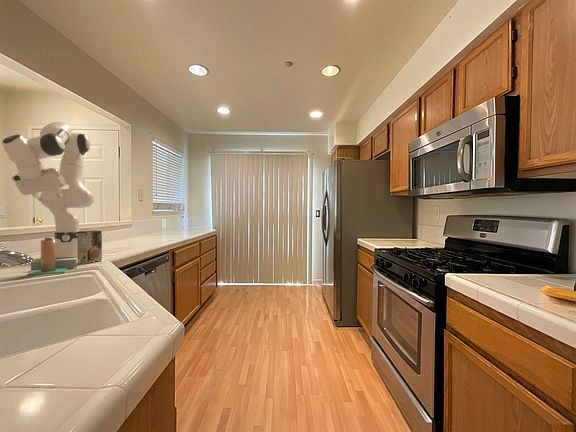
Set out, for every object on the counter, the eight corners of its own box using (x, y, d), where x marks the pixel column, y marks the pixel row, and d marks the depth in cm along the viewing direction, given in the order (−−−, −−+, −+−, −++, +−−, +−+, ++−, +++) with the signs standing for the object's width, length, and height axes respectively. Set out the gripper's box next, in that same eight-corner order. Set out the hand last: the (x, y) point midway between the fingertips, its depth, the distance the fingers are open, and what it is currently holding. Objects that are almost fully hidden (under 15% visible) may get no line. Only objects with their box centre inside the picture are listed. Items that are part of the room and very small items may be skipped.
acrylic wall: (31, 270, 131) (31, 261, 131) (76, 267, 139) (76, 259, 139) (31, 271, 130) (31, 261, 130) (76, 268, 138) (76, 259, 138)
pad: (33, 271, 130) (33, 270, 130) (67, 269, 136) (67, 267, 136) (27, 275, 122) (27, 273, 122) (64, 272, 128) (64, 271, 128)
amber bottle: (42, 270, 130) (42, 237, 130) (56, 269, 132) (56, 237, 132) (39, 272, 125) (39, 238, 125) (54, 271, 128) (54, 238, 128)
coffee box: (91, 260, 160) (92, 230, 160) (102, 261, 159) (102, 230, 159) (76, 263, 151) (76, 231, 151) (87, 264, 150) (87, 231, 150)
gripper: (59, 164, 138) (75, 191, 145) (18, 173, 139) (36, 200, 146) (50, 169, 133) (68, 197, 139) (7, 179, 134) (27, 206, 141)
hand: (51, 198), depth 143 cm, fingers open, 8 cm apart
